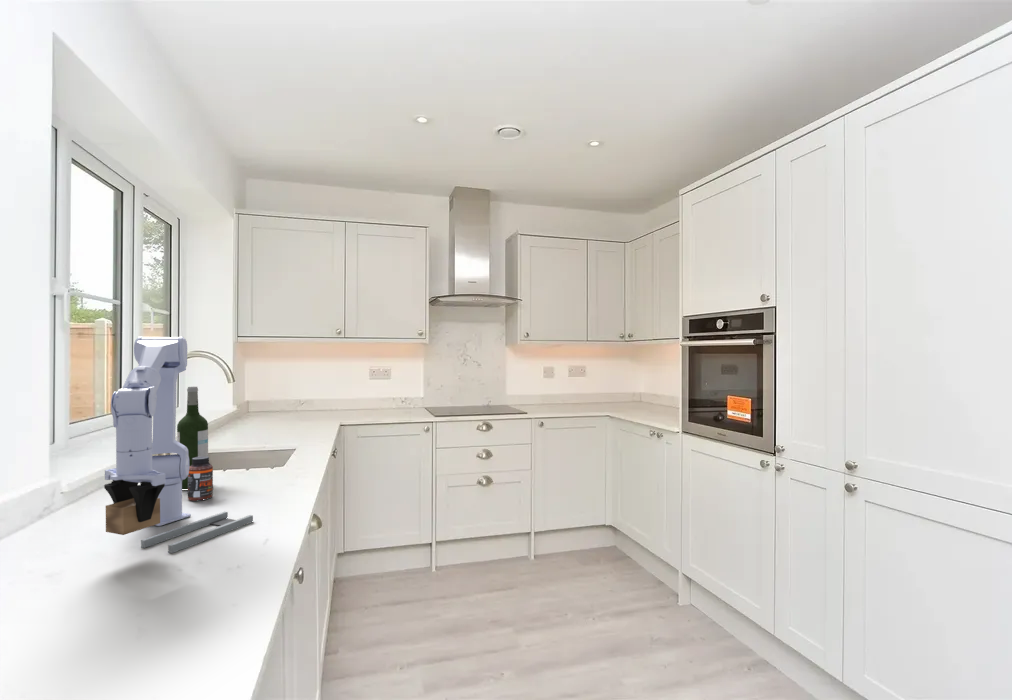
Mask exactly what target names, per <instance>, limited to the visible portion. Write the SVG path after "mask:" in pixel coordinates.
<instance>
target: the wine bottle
mask: <svg viewBox="0 0 1012 700" xmlns="http://www.w3.org/2000/svg"><path fill="white" fill-rule="evenodd" d="M186 391H187V398H186V399H187V401H186V414H185V415H184V416H183V417H182V418H181V419H180V420H179V421H178V423H177V424H176V426H177V427H176V441H178V442H179V443H181V444H183V445H184V446H186V447H187V449H188V456H189V467H190V466H191V465H192V458H195V457H201V456H207V457H209V423H208V421H207V419H206V418H205V417H204V416H202V414H200V411H199V395H198V394H199V393H198V391H199V389H198V386H187V388H186ZM182 489H188V476H187V477H186V479H183V480H182Z"/></svg>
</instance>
